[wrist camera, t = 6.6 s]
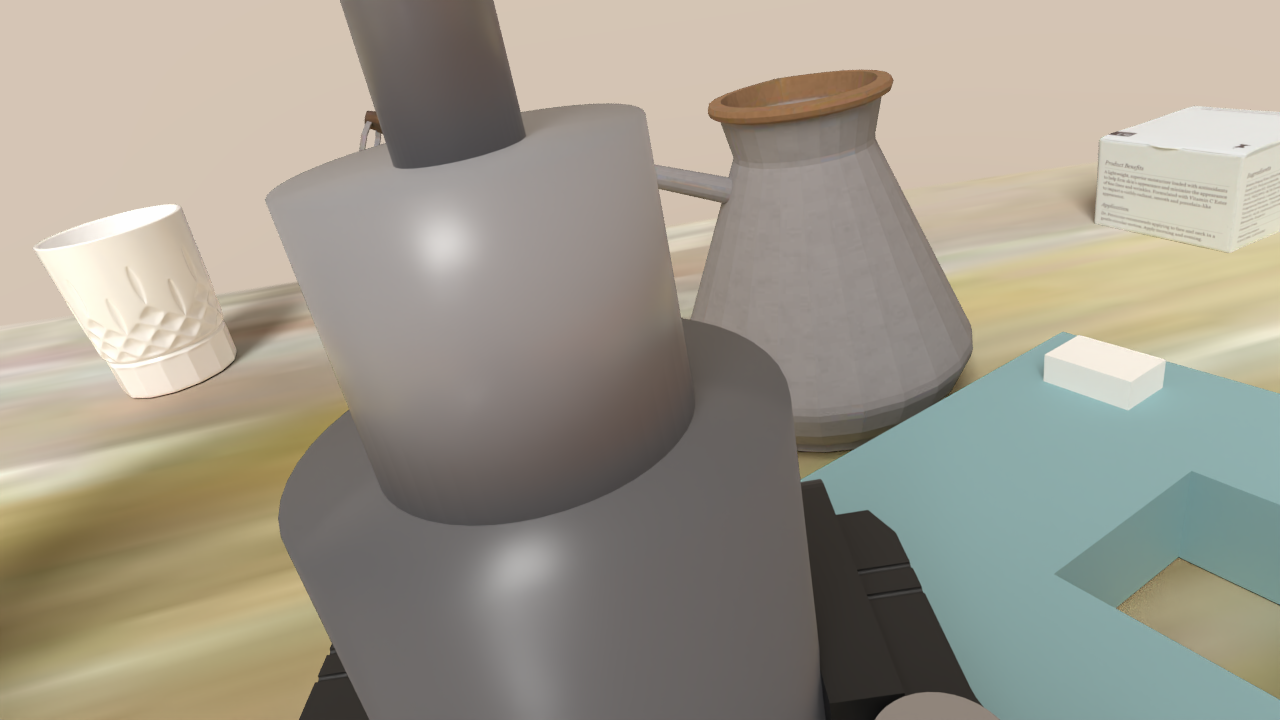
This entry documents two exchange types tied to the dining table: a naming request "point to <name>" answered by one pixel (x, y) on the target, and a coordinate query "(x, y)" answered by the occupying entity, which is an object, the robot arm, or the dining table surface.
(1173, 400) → the socket plate
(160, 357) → the white cup
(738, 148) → the coffee pot
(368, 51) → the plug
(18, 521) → the dining table surface
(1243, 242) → the small box
